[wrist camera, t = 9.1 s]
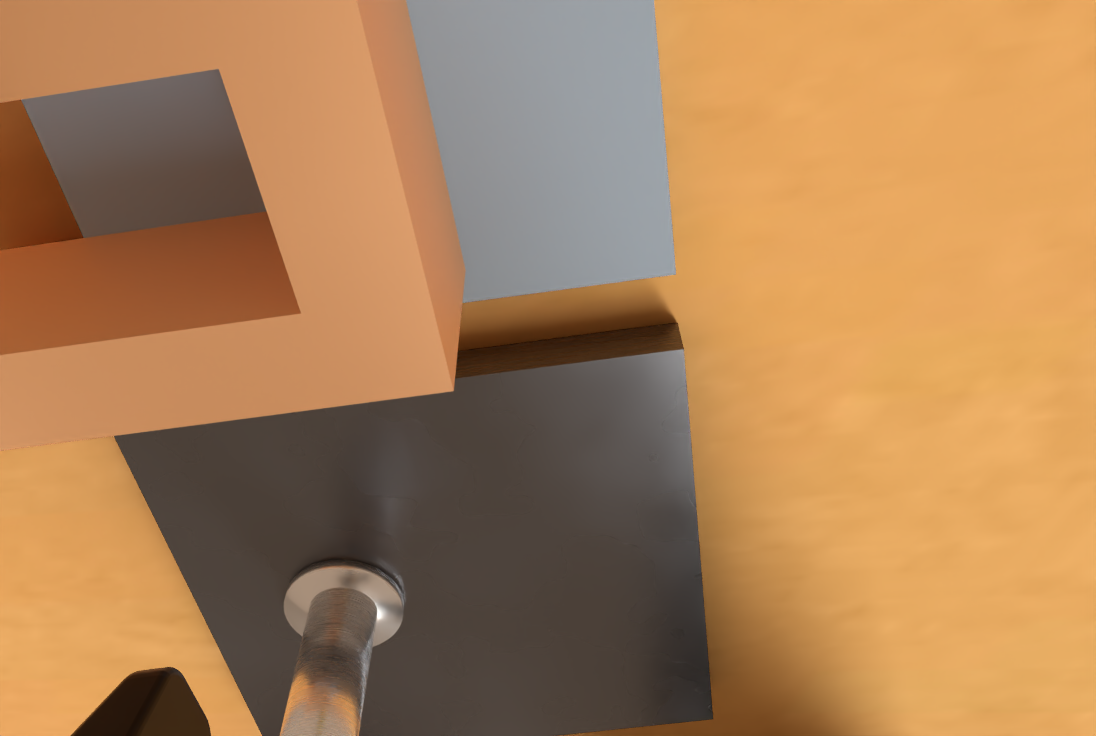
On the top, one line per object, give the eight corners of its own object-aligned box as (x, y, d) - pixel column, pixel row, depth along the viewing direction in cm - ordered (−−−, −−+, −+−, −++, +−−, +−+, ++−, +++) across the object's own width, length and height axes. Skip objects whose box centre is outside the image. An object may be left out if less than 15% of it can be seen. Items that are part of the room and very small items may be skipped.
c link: (465, 269, 20) (453, 390, 16) (22, 331, 20) (-76, 460, 17) (372, -152, 15) (330, -104, 12) (-184, -58, 16) (-368, 12, 13)
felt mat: (671, 260, 20) (675, 274, 20) (142, 331, 21) (133, 347, 20) (628, -267, 15) (632, -264, 15) (-70, -148, 16) (-89, -143, 15)
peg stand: (707, 688, 28) (751, 930, 22) (283, 733, 29) (228, 978, 23) (677, 322, 21) (729, 543, 16) (123, 394, 22) (-8, 630, 16)
